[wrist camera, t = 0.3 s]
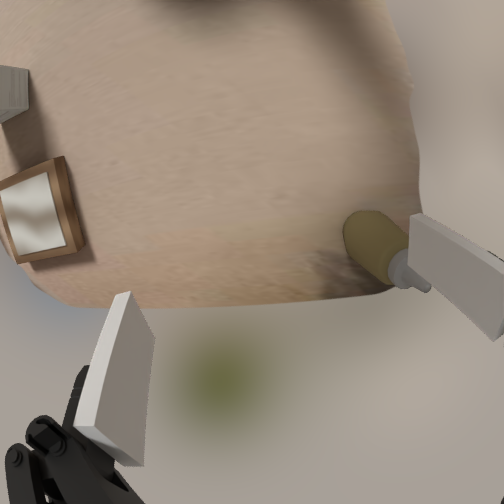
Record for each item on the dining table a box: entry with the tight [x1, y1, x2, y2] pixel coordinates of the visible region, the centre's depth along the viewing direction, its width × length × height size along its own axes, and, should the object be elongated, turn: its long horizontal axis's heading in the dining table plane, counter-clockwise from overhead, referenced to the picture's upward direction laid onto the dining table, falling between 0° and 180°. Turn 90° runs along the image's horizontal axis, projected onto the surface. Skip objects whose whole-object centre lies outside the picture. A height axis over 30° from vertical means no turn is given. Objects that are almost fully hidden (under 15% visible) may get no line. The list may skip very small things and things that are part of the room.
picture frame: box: [0, 156, 85, 264], centre depth 33 cm, size 14×14×3 cm
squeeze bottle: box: [343, 211, 431, 293], centre depth 34 cm, size 8×8×18 cm
